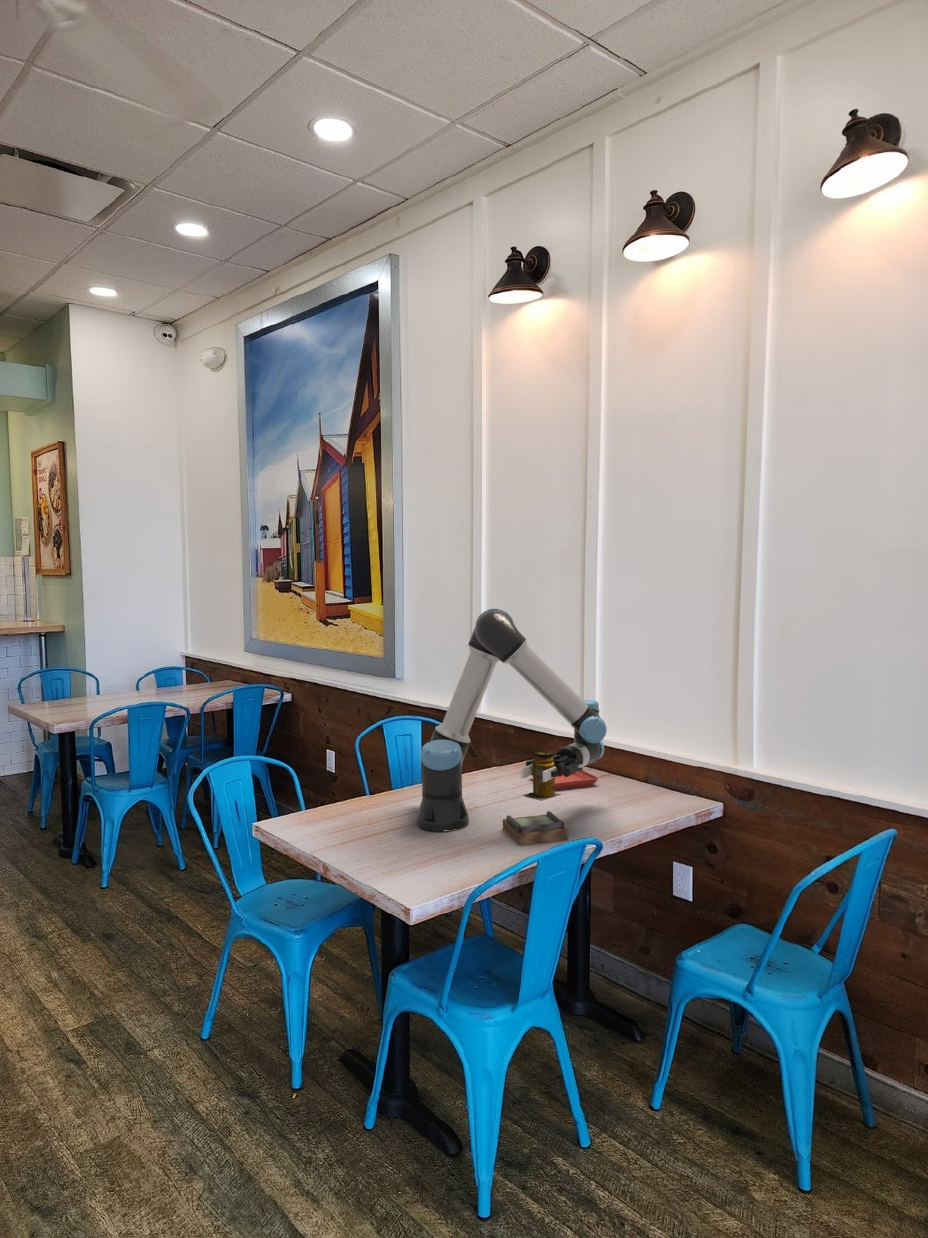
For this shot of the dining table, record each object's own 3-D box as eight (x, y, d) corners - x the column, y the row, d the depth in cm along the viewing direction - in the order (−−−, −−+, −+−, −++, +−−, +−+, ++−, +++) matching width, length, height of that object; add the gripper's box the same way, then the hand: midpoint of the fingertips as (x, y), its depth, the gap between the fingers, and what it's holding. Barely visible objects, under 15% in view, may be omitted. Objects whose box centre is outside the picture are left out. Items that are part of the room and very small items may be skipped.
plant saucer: (529, 780, 281) (528, 770, 281) (575, 775, 287) (575, 765, 287) (551, 793, 264) (551, 783, 264) (599, 787, 270) (599, 778, 270)
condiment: (561, 795, 223) (560, 752, 222) (541, 801, 217) (540, 757, 216) (541, 790, 228) (540, 748, 228) (521, 796, 222) (520, 753, 222)
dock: (518, 845, 214) (518, 829, 214) (502, 829, 228) (502, 813, 227) (567, 840, 218) (567, 823, 218) (549, 824, 231) (548, 809, 231)
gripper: (601, 774, 232) (564, 794, 213) (543, 766, 243) (503, 783, 224) (601, 749, 231) (564, 766, 212) (543, 741, 242) (503, 757, 223)
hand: (533, 775), depth 218 cm, fingers closed on condiment, 6 cm apart
